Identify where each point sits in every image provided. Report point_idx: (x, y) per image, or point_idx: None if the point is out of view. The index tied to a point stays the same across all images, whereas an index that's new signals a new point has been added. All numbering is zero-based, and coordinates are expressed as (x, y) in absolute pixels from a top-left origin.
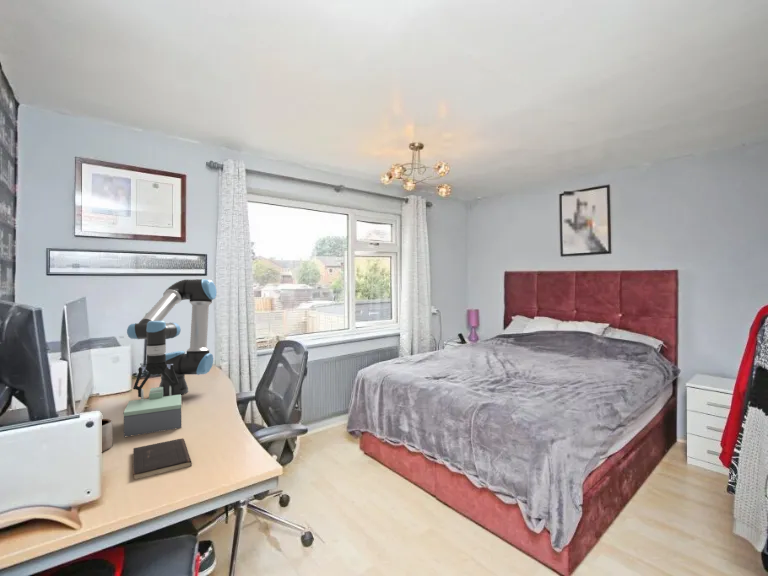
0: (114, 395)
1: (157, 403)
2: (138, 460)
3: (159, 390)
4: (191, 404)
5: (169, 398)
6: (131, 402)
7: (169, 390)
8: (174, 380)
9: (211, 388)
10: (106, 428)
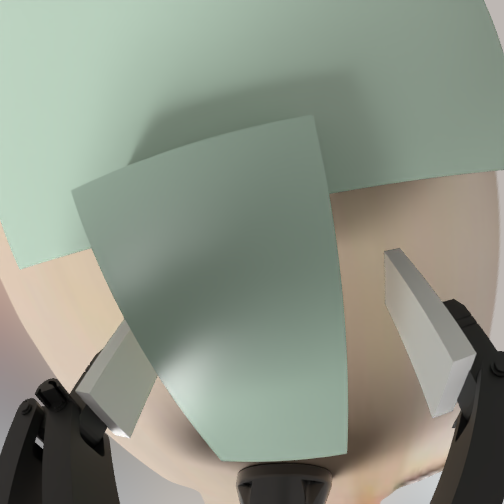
0: (434, 466)
1: None
2: None
3: (181, 345)
4: None
5: (40, 119)
6: (486, 64)
7: (108, 363)
8: (21, 443)
9: (176, 473)
10: None
